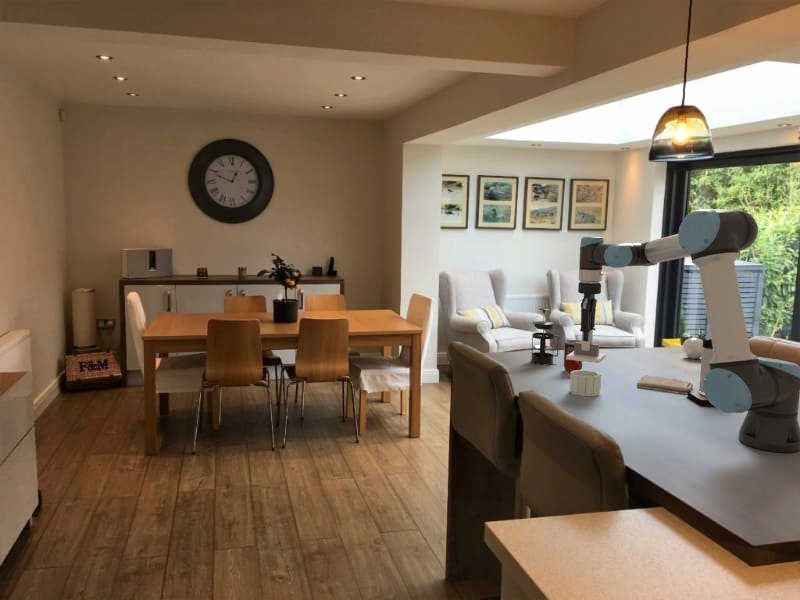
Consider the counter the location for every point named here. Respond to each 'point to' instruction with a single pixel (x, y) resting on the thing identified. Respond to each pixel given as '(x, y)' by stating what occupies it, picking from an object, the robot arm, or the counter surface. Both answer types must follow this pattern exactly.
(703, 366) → the travel mug
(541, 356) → the french press
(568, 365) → the soda can
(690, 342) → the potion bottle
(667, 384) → the washcloth
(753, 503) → the counter surface
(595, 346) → the cover
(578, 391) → the cream round tub
